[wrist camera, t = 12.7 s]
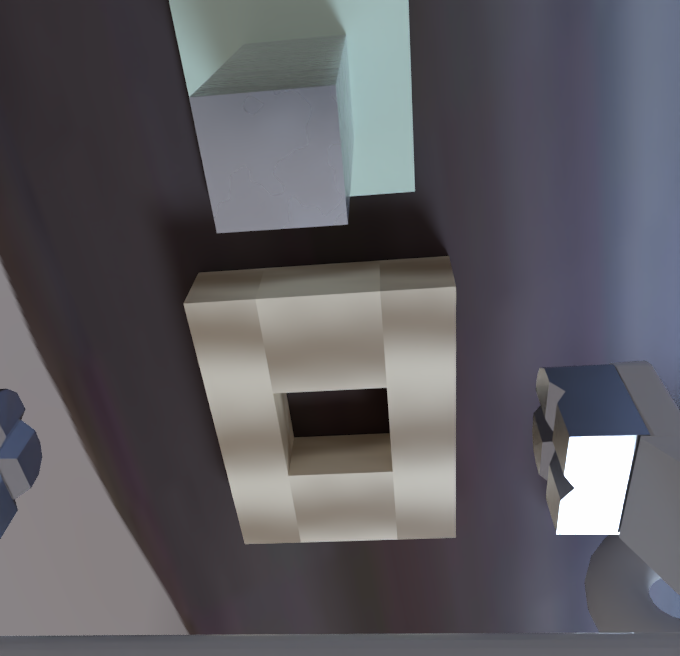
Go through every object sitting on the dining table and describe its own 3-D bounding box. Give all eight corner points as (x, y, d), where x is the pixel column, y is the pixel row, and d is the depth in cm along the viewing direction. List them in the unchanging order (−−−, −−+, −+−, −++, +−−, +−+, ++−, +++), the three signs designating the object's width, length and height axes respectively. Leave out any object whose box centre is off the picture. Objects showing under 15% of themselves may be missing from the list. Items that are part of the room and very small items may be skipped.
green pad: (168, -23, 25) (164, -22, 24) (405, -48, 24) (406, -47, 23) (214, 201, 29) (212, 206, 29) (414, 186, 29) (414, 191, 28)
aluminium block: (243, 44, 25) (189, 97, 18) (346, 34, 25) (335, 85, 17) (259, 145, 27) (217, 233, 20) (354, 138, 27) (348, 224, 19)
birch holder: (198, 272, 31) (183, 303, 29) (448, 255, 30) (455, 286, 28) (253, 504, 40) (244, 543, 37) (450, 497, 39) (455, 537, 36)
